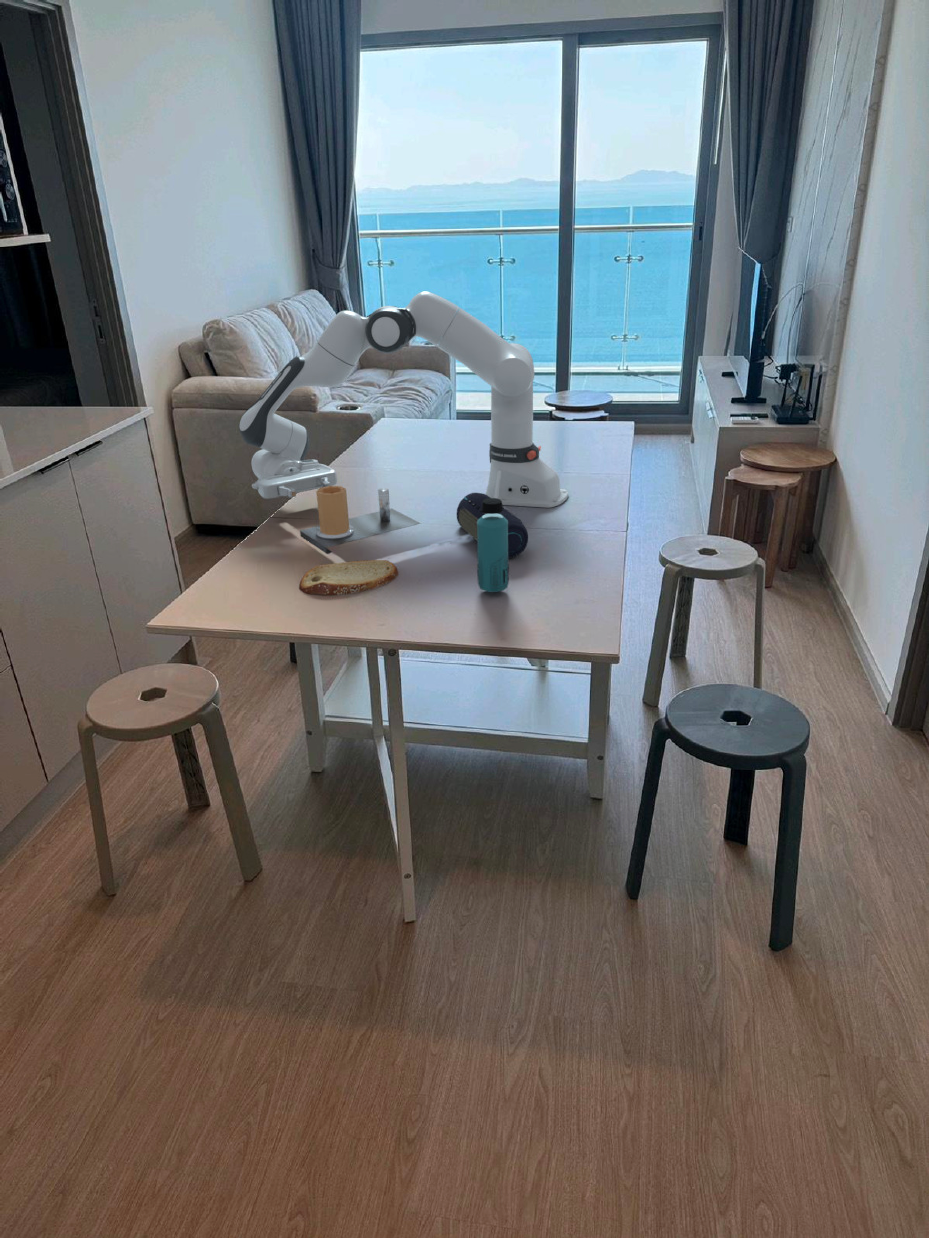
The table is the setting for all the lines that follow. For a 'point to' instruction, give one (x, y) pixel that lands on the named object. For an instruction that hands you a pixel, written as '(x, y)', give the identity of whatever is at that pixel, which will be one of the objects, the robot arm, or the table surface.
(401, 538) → the table surface
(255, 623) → the table surface
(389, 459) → the table surface
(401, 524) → the board
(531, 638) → the table surface
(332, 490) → the sleeve
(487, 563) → the beverage bottle
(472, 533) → the portable speaker
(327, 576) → the slice of bread
